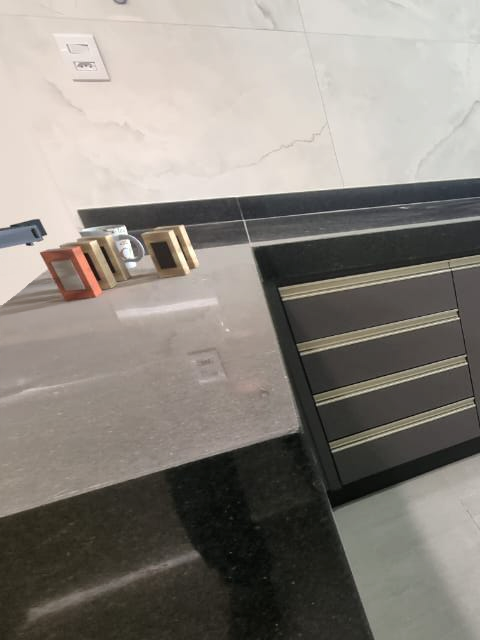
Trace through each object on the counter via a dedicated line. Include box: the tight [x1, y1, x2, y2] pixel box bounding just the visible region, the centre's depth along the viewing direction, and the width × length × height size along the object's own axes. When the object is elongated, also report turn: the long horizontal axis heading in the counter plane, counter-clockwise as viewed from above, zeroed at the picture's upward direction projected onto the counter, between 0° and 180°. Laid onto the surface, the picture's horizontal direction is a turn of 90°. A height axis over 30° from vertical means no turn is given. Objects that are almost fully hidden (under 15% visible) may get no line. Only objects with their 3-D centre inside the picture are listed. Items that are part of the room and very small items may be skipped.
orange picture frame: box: [39, 246, 104, 302], centre depth 107 cm, size 5×3×10 cm, turn 113°
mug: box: [78, 224, 145, 270], centre depth 130 cm, size 8×13×10 cm, turn 88°
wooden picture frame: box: [140, 224, 200, 279], centre depth 124 cm, size 5×10×10 cm, turn 23°
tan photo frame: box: [59, 234, 132, 291], centre depth 116 cm, size 5×10×10 cm, turn 23°
